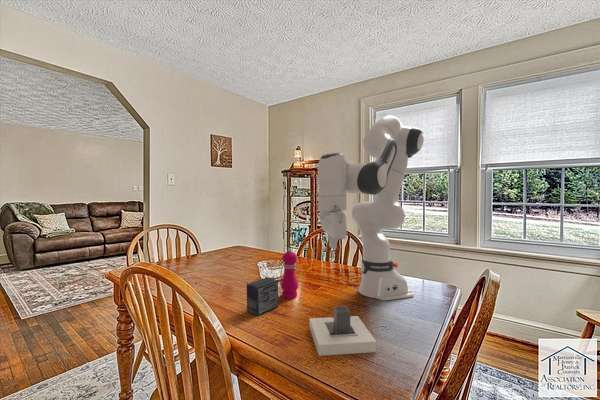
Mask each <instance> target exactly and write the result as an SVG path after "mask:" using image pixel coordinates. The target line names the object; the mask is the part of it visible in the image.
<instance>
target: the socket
mask: <svg viewBox="0 0 600 400" xmlns="http://www.w3.org/2000/svg"><path fill="white" fill-rule="evenodd" d="M309 330H310V333H311V335H312V340H313V342H314V345H315V349H316V352H317V354H318V355H317V356H319V357H321V356H337V355H338V356H339V355H353V354H366V353H367V354H368V353H377V340H376V339H375V337H374V336H373V335H372V333H371V332H370V331H369V329H368V328H367V327H366V324H364V322H363V320H361V318H360V317H359V316H358V315H353V316H352V315H350V334H342V335H334V316H333V317H331V316H330V317H313V318H312V317H311V318H309Z"/></svg>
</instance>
